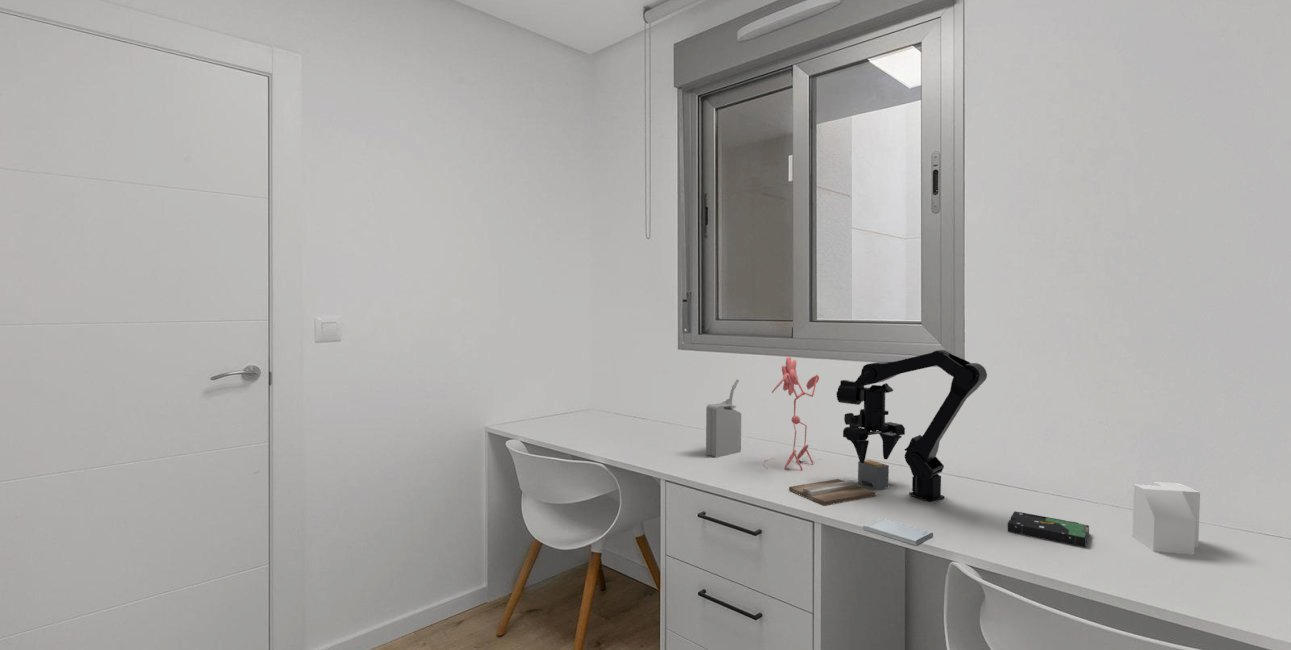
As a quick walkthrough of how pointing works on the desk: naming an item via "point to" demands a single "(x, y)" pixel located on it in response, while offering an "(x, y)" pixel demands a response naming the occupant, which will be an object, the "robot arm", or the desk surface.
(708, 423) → the fuel canister
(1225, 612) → the desk surface
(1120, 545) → the desk surface
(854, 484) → the mounting board
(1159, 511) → the corner bracket
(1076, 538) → the disk drive
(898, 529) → the hard drive
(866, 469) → the block
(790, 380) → the pink flower figurine
